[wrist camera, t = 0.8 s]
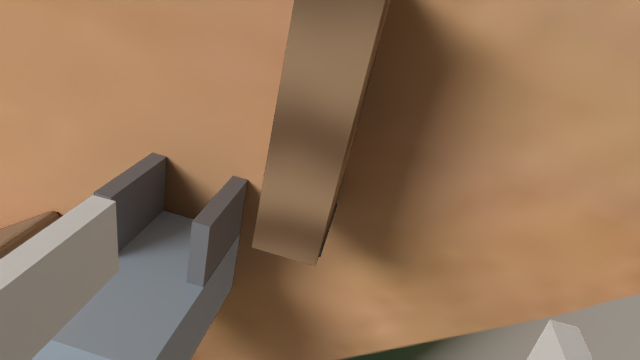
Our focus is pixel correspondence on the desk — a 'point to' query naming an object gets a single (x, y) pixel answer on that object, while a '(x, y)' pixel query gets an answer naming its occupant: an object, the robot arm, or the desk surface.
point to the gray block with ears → (157, 274)
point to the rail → (316, 122)
